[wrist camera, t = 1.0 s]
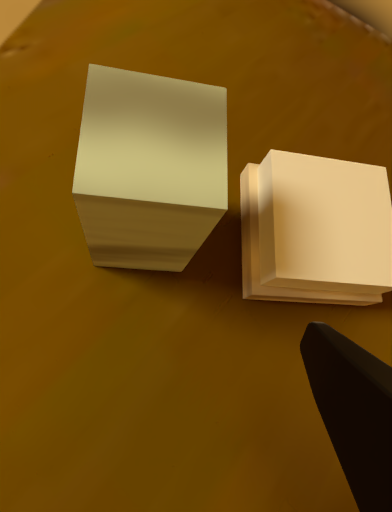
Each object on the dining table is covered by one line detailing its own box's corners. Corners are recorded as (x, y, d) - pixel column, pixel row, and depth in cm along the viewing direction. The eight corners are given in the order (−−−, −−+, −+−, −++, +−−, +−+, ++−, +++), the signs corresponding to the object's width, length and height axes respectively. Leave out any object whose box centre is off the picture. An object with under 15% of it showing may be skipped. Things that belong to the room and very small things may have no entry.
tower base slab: (359, 306, 27) (382, 302, 25) (239, 300, 25) (252, 294, 23) (346, 192, 30) (365, 178, 27) (237, 179, 28) (248, 163, 26)
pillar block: (181, 271, 24) (227, 209, 14) (93, 266, 23) (72, 192, 13) (184, 195, 26) (226, 88, 15) (102, 185, 25) (89, 63, 14)
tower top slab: (377, 294, 25) (403, 287, 22) (260, 285, 23) (276, 277, 21) (362, 183, 27) (385, 167, 25) (257, 168, 26) (270, 149, 23)
